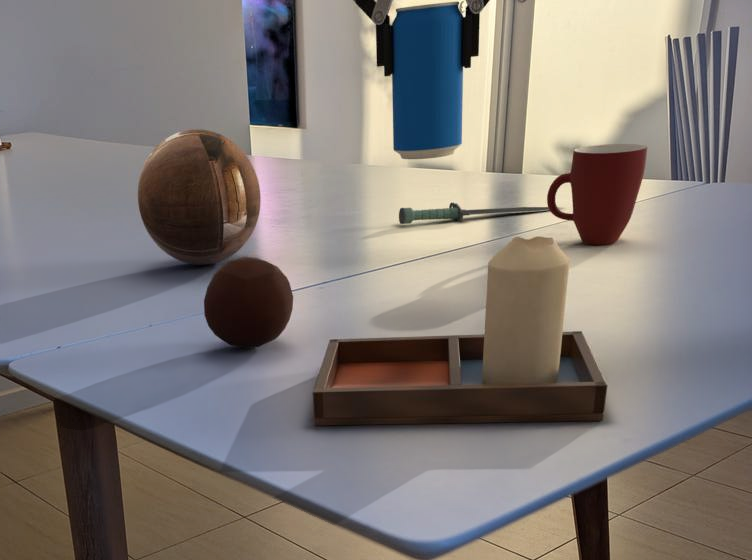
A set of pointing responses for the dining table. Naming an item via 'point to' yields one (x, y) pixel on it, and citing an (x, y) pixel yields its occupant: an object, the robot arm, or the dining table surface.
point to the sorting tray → (448, 384)
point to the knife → (456, 213)
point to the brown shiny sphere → (199, 197)
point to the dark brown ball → (248, 302)
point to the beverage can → (427, 80)
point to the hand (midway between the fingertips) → (427, 69)
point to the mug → (602, 190)
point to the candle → (525, 312)
